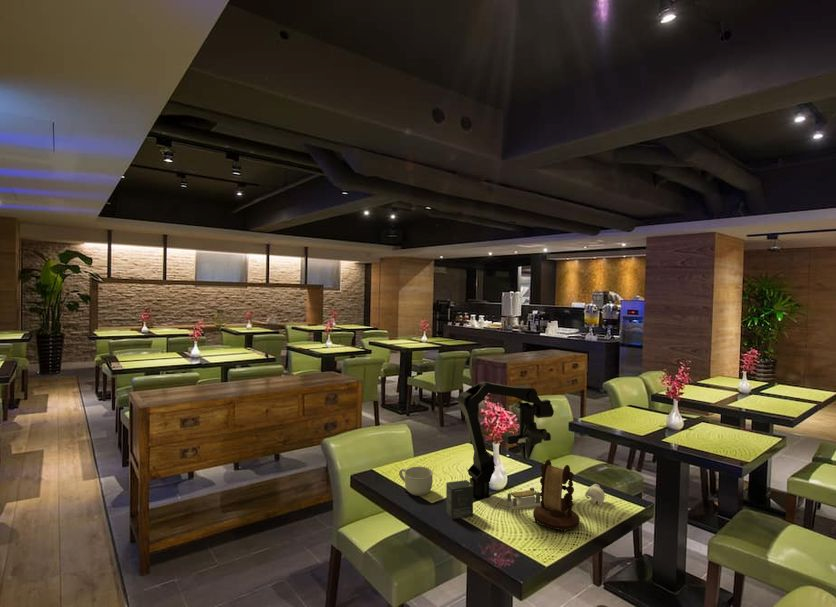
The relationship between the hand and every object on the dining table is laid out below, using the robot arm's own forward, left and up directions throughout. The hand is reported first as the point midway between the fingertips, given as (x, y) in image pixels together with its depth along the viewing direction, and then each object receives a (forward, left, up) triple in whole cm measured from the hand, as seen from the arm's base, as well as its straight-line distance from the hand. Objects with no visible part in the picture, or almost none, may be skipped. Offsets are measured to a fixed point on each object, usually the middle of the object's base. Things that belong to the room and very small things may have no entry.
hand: (526, 458), depth 174 cm
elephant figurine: (+19, -17, -12) cm, 28 cm away
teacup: (-42, +10, -12) cm, 45 cm away
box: (-33, -12, -12) cm, 37 cm away
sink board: (-7, -10, -12) cm, 17 cm away
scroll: (-4, -26, -12) cm, 29 cm away
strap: (-7, -11, -9) cm, 15 cm away
